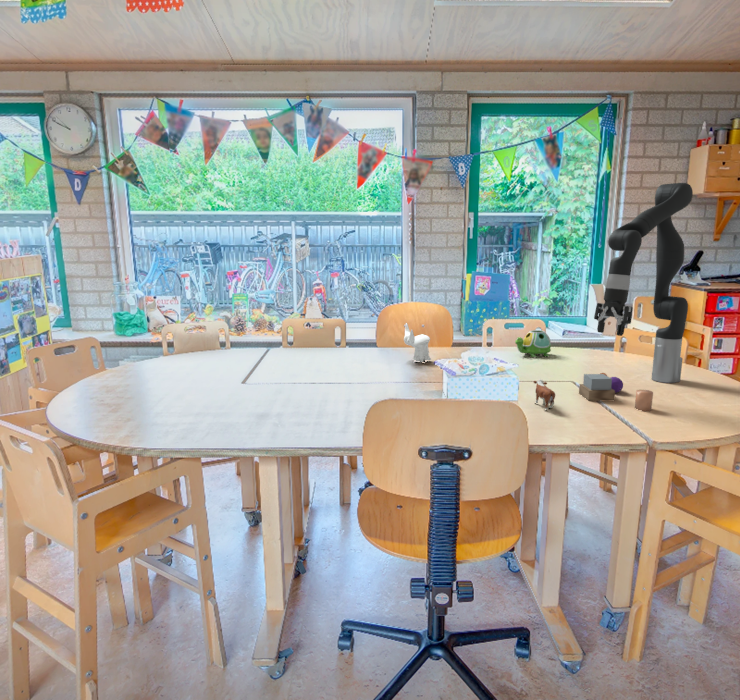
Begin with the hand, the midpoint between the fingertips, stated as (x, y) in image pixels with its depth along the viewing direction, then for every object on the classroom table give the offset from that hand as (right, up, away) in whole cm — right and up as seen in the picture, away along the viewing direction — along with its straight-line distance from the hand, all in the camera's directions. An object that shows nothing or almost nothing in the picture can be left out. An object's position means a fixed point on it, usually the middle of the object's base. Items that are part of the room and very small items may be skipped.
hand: (609, 334), depth 193 cm
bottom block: (-4, -23, +2) cm, 23 cm away
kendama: (+6, -20, +15) cm, 26 cm away
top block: (-4, -19, +2) cm, 19 cm away
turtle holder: (-6, -9, +71) cm, 72 cm away
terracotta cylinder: (+6, -25, -11) cm, 28 cm away
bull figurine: (-26, -25, -7) cm, 37 cm away
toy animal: (-63, -11, +61) cm, 88 cm away
